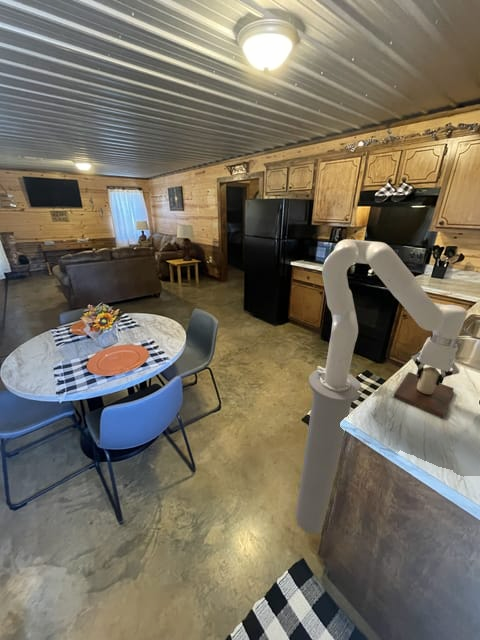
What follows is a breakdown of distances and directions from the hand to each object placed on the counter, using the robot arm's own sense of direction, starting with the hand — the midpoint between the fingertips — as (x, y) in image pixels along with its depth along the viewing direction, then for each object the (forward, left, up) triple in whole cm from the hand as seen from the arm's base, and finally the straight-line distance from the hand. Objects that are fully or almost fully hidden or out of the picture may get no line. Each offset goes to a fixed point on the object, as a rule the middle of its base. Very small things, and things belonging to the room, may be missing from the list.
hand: (428, 379), depth 101 cm
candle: (0, 0, -5) cm, 5 cm away
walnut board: (0, 0, -7) cm, 7 cm away
